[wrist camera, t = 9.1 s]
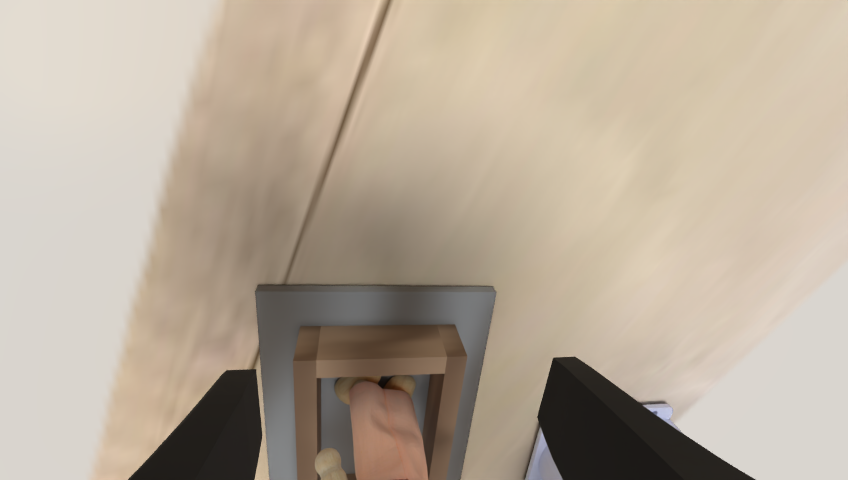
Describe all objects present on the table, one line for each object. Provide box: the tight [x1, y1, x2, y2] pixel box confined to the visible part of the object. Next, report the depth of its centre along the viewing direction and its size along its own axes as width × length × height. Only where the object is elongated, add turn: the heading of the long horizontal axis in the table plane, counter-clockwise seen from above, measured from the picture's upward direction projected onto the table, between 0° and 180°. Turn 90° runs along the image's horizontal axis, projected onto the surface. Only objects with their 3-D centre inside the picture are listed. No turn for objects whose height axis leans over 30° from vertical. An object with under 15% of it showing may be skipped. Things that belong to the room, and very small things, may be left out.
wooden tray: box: [255, 285, 496, 480], centre depth 22 cm, size 12×16×3 cm
